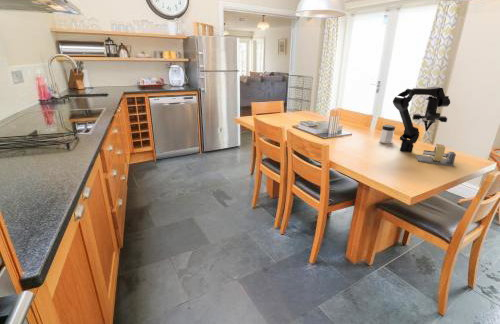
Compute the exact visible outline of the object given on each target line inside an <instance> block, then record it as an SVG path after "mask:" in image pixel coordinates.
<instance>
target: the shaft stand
mask: <svg viewBox="0 0 500 324" xmlns="http://www.w3.org/2000/svg"><path fill="white" fill-rule="evenodd" d="M434 155H435V151H434V150H433V151H432V150H428V149H427V150H425V149H424V150H423V152H422V155H419V154H416V159H417V162H420V163H427V164H431V165H432V164H433V165H440V166H441V165H442V166H448V167H454V166H455V163H454V162H455V159H456V155H457V154H456V153H455V151H447V153H445V152H444V155H443V158H442V161H436V160H433V158H432V156H434Z"/></svg>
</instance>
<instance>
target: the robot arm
mask: <svg viewBox="0 0 500 324" xmlns="http://www.w3.org/2000/svg"><path fill="white" fill-rule="evenodd" d="M415 95H417V96H418V95H419V96H428V97H426V98H425V100H427V105H426V110H425V112H424V113H425V114H424V115H421V114H419V113H413V114H412V119H411V115H410V111H409V109H408V108H409V106H410V102H411V101H412V99H413V97H414V96H415ZM392 104H393V106H394V108H396V109H397V110H398V112H399V116H400V118H401V121H402V123H403V127H404V130H403V134H401V136H400V137H399V140H400V141H401V143H400V147H399V151H400V152H406V153H412V152H413V148H414V144H416V143H417V141H418V139H419V137H420V131H419V128H418V127H416V126H414V123H413V121H412V120H418V121H419V120H420V119H421V121H422V122H423V124H424V131H425V132H427V131H428V130H429V129H430V127H431V126H432V125H433V124H434V123H436V121H439V122H441V123H447V121H448V117H446V115H445V116H444V115H441V112H438V111H437V110H438V108H446V107H449V106H450V104H451V99H450V97H449V95H445V92H444V88H443V87H440V86H429V87H424V88H421V87H420V88H419V87H417V88H415V87H414V88H413V87H408V88H406V89H405V90H404V91H402V92H400V93H398V94H397V96H395V97H394V98H393V100H392Z"/></svg>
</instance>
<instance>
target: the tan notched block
mask: <svg viewBox="0 0 500 324" xmlns="http://www.w3.org/2000/svg"><path fill="white" fill-rule="evenodd" d="M433 151H435V155H434V156H431V157H432V158H433V160H436V161H442V158H444V157H443V155H444V153H445V151H446V146H445V145H444V144H442V143H441V144H440V143H436V144H435V146H434V149H433Z"/></svg>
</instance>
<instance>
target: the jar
mask: <svg viewBox="0 0 500 324" xmlns="http://www.w3.org/2000/svg"><path fill="white" fill-rule="evenodd" d="M381 128H382V129H381V132H380V136H379V137H380V138H379V142H380V143H382V144H392V142H393V139H394V134H395V130H396V126H395V125H391V124H383V125H382V127H381Z"/></svg>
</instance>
